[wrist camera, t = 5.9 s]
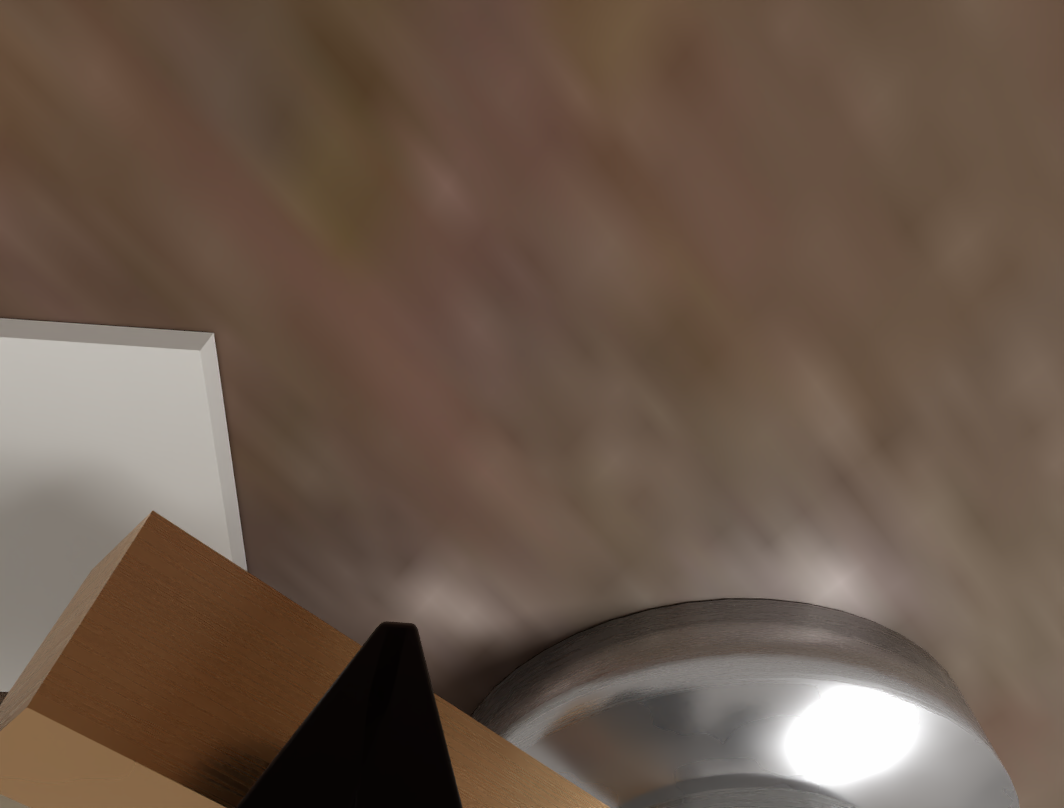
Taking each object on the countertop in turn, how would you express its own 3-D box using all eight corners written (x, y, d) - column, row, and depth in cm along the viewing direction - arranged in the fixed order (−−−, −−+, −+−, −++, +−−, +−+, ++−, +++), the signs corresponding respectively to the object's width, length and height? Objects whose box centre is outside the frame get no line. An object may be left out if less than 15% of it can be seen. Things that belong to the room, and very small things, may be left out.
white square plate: (262, 678, 16) (253, 703, 16) (-138, 660, 16) (-160, 684, 15) (214, 333, 12) (199, 350, 12) (-329, 295, 12) (-369, 311, 11)
